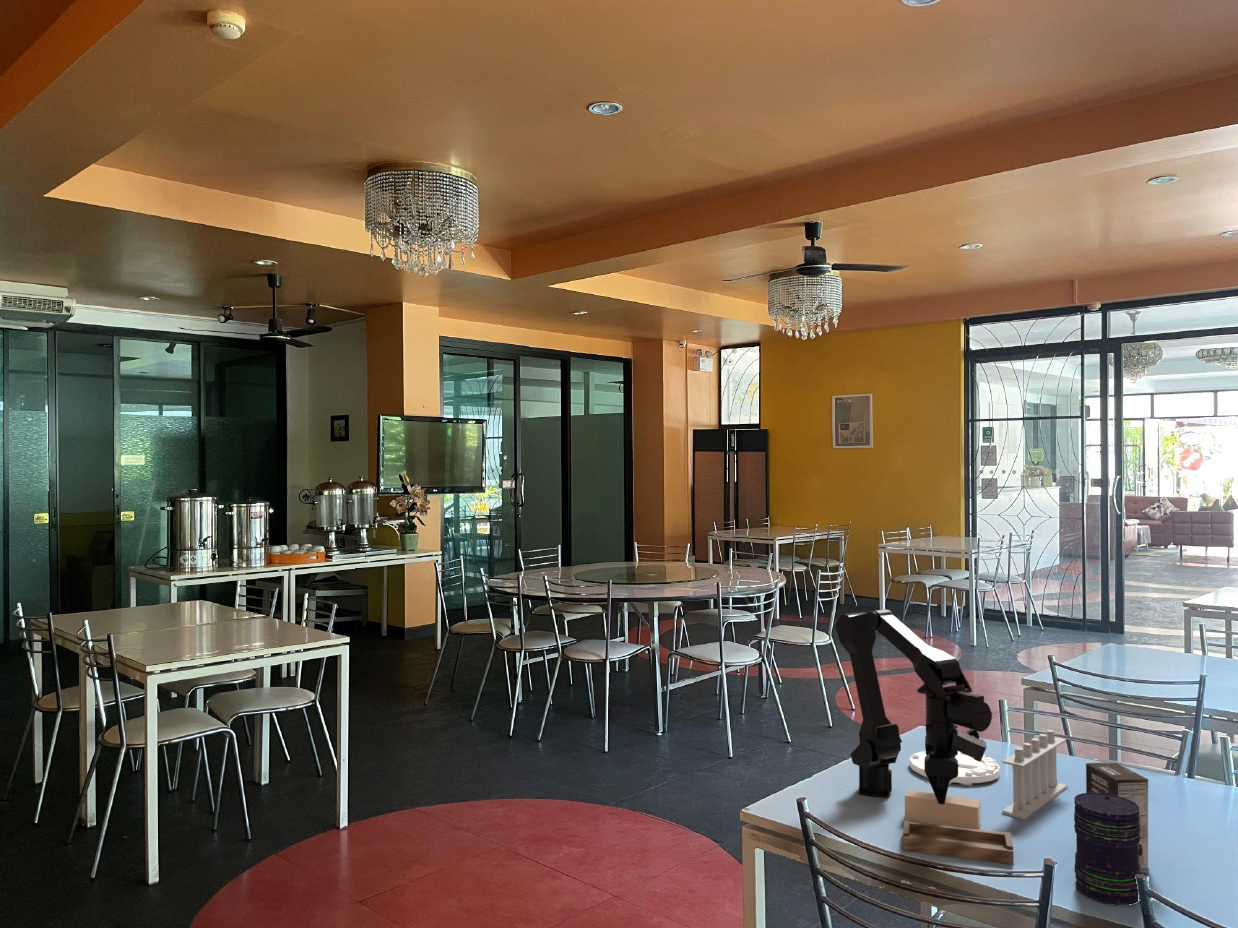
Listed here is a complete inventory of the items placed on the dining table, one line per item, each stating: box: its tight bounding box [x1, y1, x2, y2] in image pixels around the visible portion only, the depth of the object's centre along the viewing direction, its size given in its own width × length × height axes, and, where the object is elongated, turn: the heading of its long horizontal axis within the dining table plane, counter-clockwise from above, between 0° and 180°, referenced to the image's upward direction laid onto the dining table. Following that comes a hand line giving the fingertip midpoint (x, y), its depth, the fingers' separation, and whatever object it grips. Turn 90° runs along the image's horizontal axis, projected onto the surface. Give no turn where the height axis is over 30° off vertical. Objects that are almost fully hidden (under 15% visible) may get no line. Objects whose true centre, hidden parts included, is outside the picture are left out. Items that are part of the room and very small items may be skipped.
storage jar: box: [1073, 792, 1141, 906], centre depth 149 cm, size 10×10×15 cm
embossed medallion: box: [909, 750, 1001, 786], centre depth 210 cm, size 20×20×3 cm
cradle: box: [902, 819, 1015, 865], centre depth 167 cm, size 19×8×3 cm, turn 71°
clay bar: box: [904, 789, 982, 830], centre depth 179 cm, size 14×4×5 cm, turn 61°
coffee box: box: [1085, 762, 1149, 869], centre depth 162 cm, size 9×6×16 cm
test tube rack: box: [1001, 729, 1068, 820], centre depth 191 cm, size 25×4×13 cm, turn 135°
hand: (941, 795), depth 180 cm, fingers open, 9 cm apart
